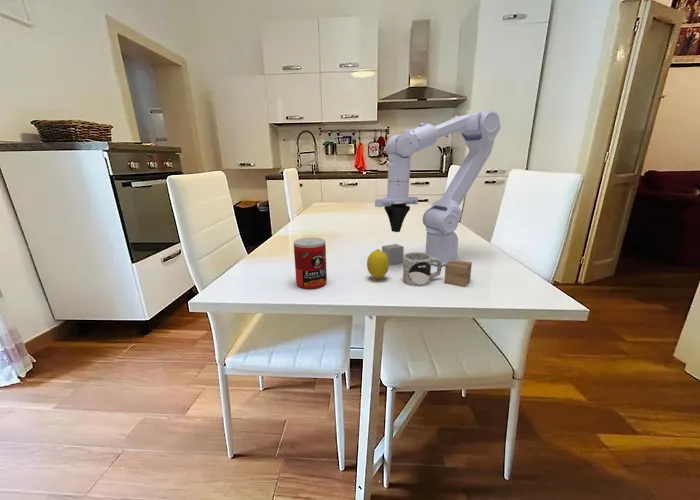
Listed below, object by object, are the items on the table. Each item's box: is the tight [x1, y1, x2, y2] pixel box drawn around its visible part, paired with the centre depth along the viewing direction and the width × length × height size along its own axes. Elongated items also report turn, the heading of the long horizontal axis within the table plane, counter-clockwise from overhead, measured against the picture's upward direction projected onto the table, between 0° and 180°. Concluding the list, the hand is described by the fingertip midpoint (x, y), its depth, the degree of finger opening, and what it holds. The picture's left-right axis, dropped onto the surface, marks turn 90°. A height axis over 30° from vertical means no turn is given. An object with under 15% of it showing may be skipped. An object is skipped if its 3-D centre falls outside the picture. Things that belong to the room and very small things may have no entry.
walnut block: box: [444, 259, 473, 288], centre depth 78 cm, size 5×5×5 cm
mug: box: [402, 252, 442, 287], centre depth 79 cm, size 10×7×7 cm
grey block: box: [381, 243, 405, 266], centre depth 94 cm, size 5×4×5 cm
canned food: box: [293, 237, 328, 290], centre depth 77 cm, size 8×8×11 cm
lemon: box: [366, 248, 390, 280], centre depth 80 cm, size 6×6×8 cm
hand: (395, 231), depth 88 cm, fingers closed
